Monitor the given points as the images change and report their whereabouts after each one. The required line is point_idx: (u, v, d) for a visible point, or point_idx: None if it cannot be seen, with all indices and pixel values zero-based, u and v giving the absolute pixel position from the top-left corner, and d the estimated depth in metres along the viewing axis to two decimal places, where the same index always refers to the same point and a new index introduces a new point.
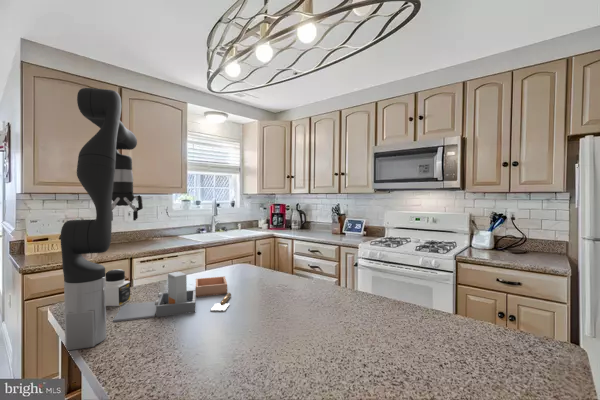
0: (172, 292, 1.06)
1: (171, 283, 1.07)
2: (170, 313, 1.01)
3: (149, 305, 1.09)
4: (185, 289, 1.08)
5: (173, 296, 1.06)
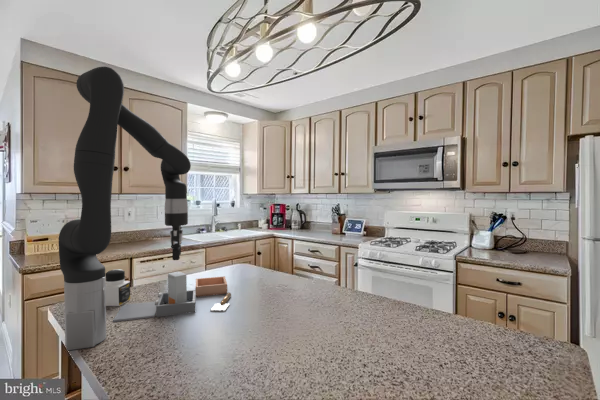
0: (172, 292, 1.06)
1: (171, 283, 1.07)
2: (170, 313, 1.01)
3: (149, 305, 1.09)
4: (185, 289, 1.08)
5: (173, 296, 1.06)
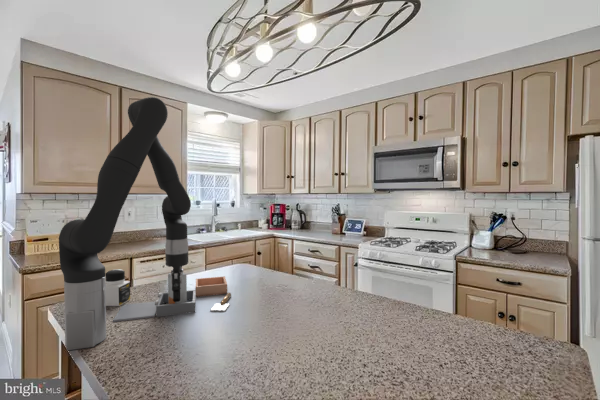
0: (172, 292, 1.06)
1: None
2: (170, 313, 1.01)
3: (149, 305, 1.09)
4: (185, 289, 1.08)
5: None
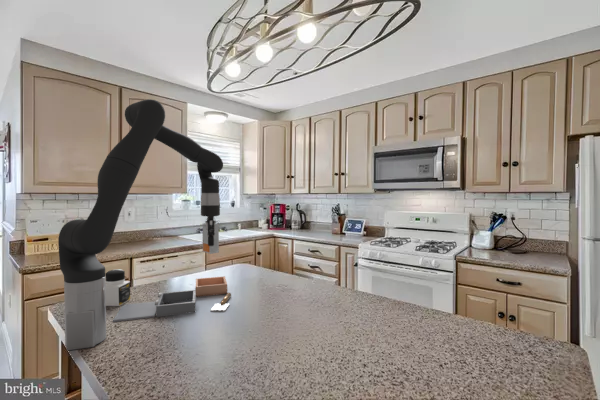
0: (207, 238, 1.24)
1: None
2: (170, 313, 1.01)
3: (149, 305, 1.09)
4: (217, 236, 1.25)
5: None
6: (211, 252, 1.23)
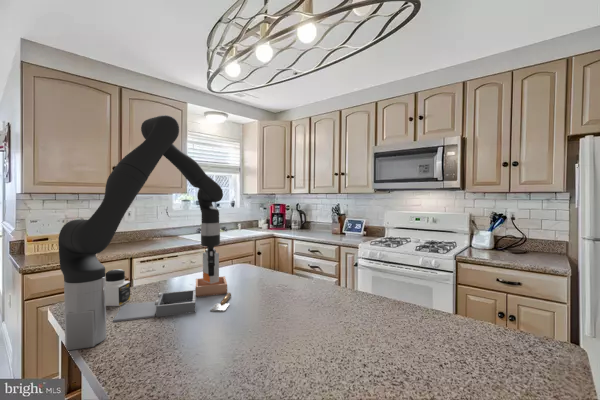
0: (207, 268, 1.24)
1: (206, 260, 1.25)
2: (170, 313, 1.01)
3: (149, 305, 1.09)
4: (218, 266, 1.26)
5: None
6: (211, 282, 1.24)
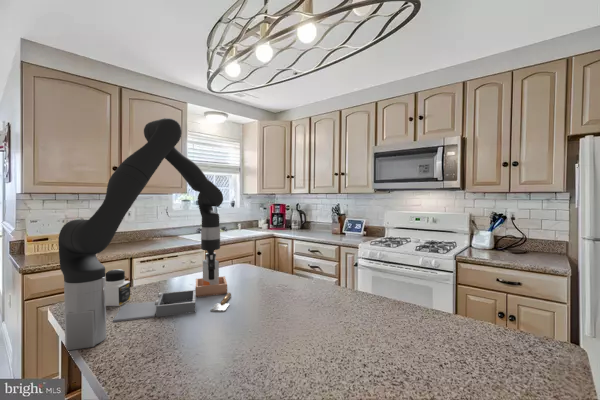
0: (207, 276, 1.24)
1: (206, 268, 1.24)
2: (170, 313, 1.01)
3: (149, 305, 1.09)
4: (217, 273, 1.25)
5: (208, 280, 1.24)
6: None
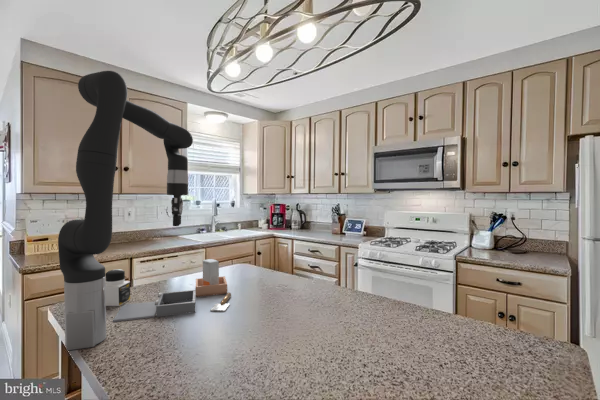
0: (207, 276, 1.24)
1: (206, 268, 1.24)
2: (170, 313, 1.01)
3: (149, 305, 1.09)
4: (217, 273, 1.25)
5: (208, 280, 1.24)
6: None
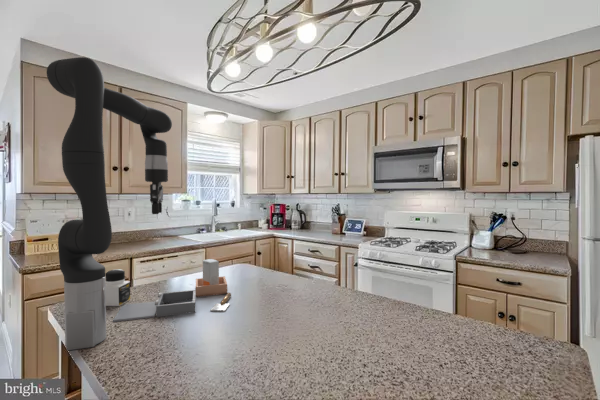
0: (207, 276, 1.24)
1: (206, 268, 1.24)
2: (170, 313, 1.01)
3: (149, 305, 1.09)
4: (217, 273, 1.25)
5: (208, 280, 1.24)
6: None
